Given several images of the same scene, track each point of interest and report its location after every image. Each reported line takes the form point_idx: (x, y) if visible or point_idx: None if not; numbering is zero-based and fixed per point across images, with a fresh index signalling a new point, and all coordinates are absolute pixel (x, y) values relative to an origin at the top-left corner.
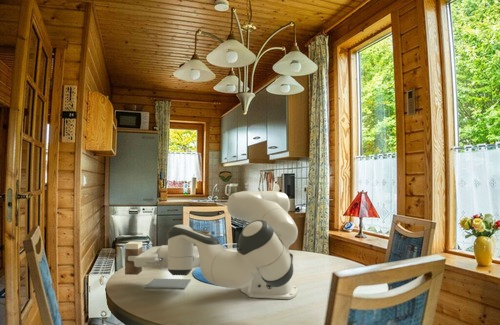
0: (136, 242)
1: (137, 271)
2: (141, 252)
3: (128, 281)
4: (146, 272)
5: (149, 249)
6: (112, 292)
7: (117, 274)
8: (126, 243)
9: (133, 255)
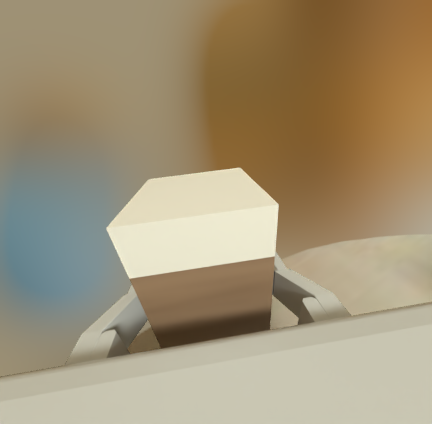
0: (206, 193)
1: None
2: (250, 302)
3: (283, 311)
4: None
5: (368, 352)
6: None
7: (316, 249)
8: (162, 178)
9: None
